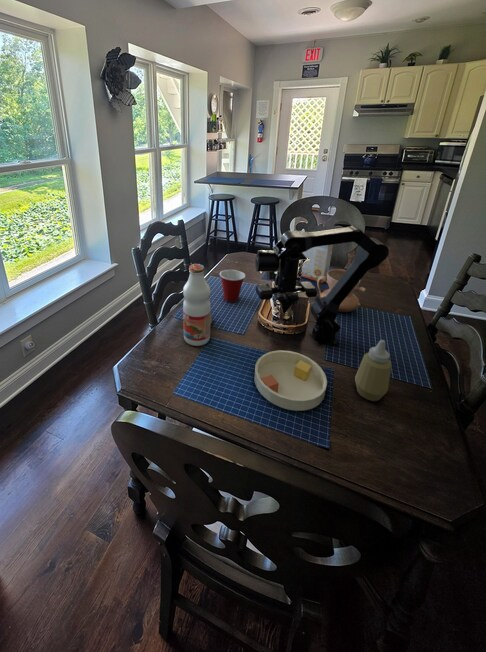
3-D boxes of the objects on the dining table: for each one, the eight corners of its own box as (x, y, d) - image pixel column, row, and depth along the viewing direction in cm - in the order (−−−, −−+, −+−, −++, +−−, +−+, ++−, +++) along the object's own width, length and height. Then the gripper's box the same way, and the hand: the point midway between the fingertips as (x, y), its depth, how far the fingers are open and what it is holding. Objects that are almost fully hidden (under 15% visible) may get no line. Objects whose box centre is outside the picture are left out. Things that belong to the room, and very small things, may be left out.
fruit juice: (215, 340, 112) (217, 268, 101) (193, 350, 108) (192, 275, 97) (200, 327, 120) (200, 258, 109) (178, 335, 115) (176, 265, 104)
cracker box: (327, 279, 153) (334, 238, 145) (322, 283, 149) (329, 241, 141) (299, 270, 162) (305, 231, 154) (294, 274, 158) (299, 234, 150)
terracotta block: (270, 383, 93) (271, 374, 92) (277, 392, 90) (278, 383, 89) (260, 387, 92) (260, 378, 90) (267, 396, 89) (268, 386, 87)
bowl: (308, 358, 103) (309, 348, 101) (337, 410, 85) (340, 398, 83) (247, 361, 102) (248, 351, 101) (264, 414, 84) (265, 402, 82)
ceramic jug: (366, 306, 131) (373, 275, 125) (353, 321, 121) (360, 288, 116) (322, 291, 142) (327, 262, 137) (307, 304, 133) (312, 273, 127)
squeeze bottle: (384, 409, 85) (400, 355, 78) (350, 397, 89) (363, 344, 82) (385, 389, 91) (401, 337, 84) (354, 378, 95) (366, 328, 88)
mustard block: (298, 369, 98) (300, 360, 97) (310, 374, 96) (311, 365, 95) (293, 375, 96) (295, 366, 94) (305, 381, 94) (306, 372, 92)
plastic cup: (248, 296, 140) (249, 271, 135) (237, 307, 131) (239, 281, 127) (225, 290, 145) (226, 266, 141) (214, 300, 137) (214, 275, 132)
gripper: (306, 259, 110) (300, 298, 116) (252, 261, 109) (249, 301, 115) (321, 273, 100) (314, 316, 106) (262, 276, 99) (258, 319, 105)
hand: (283, 312), depth 108 cm, fingers closed
